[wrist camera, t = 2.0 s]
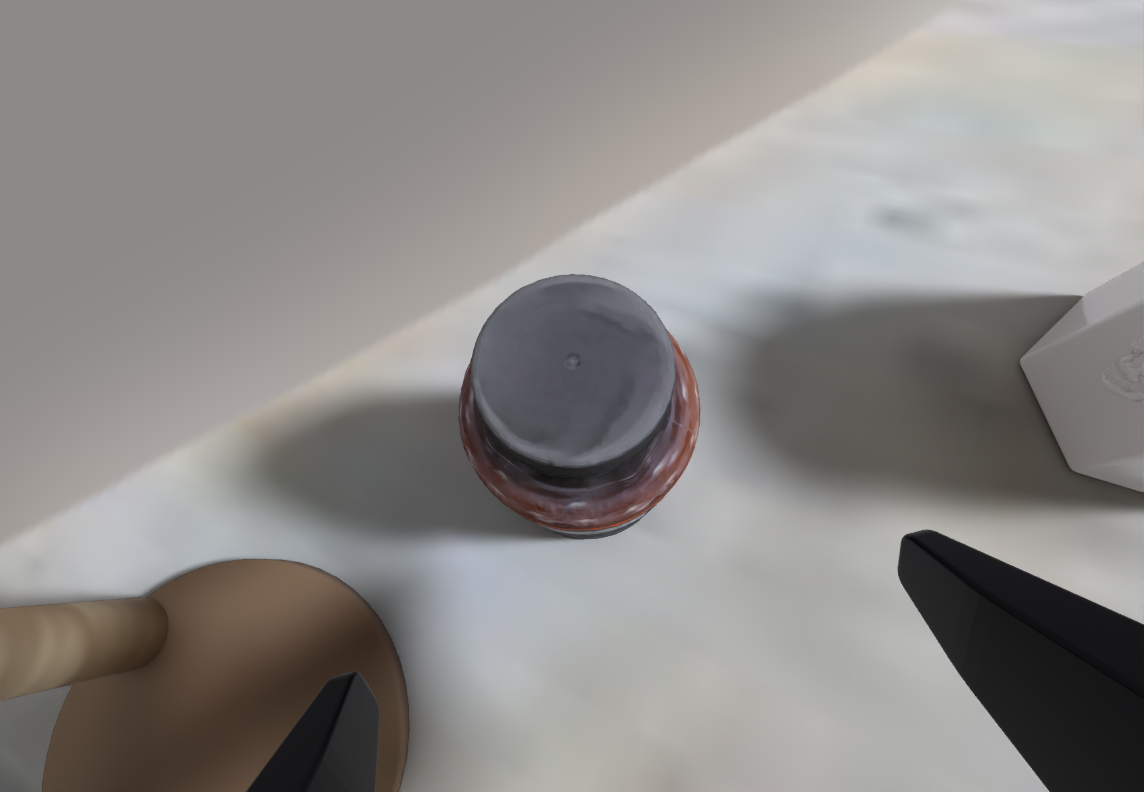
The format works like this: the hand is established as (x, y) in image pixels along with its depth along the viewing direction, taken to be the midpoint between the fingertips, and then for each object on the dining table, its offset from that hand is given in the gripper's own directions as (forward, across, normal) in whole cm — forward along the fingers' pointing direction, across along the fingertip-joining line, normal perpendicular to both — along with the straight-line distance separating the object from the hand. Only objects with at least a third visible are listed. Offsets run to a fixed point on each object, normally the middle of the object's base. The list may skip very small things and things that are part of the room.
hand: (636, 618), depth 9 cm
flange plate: (+7, +14, +9) cm, 18 cm away
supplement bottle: (+12, 0, +5) cm, 13 cm away
